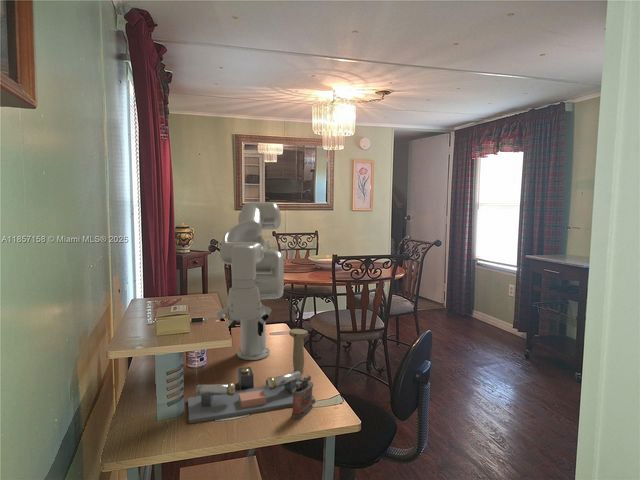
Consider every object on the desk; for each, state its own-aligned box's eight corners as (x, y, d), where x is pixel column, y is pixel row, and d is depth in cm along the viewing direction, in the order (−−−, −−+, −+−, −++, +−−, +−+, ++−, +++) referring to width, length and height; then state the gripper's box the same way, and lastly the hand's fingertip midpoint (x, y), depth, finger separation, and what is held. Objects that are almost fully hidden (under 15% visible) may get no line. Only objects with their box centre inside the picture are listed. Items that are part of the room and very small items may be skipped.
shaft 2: (271, 402, 123) (271, 381, 122) (265, 397, 126) (265, 376, 126) (302, 393, 129) (302, 372, 128) (295, 388, 132) (295, 368, 132)
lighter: (298, 420, 114) (299, 385, 112) (289, 416, 115) (289, 382, 114) (315, 407, 120) (316, 375, 119) (305, 404, 122) (306, 372, 121)
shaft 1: (235, 402, 123) (235, 380, 123) (233, 409, 119) (233, 386, 119) (198, 403, 123) (198, 381, 122) (195, 410, 119) (195, 387, 118)
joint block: (241, 391, 130) (240, 374, 130) (238, 382, 136) (237, 366, 136) (253, 389, 132) (253, 372, 131) (250, 381, 138) (250, 365, 137)
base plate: (188, 401, 124) (187, 391, 124) (302, 383, 136) (302, 375, 135) (189, 423, 112) (188, 413, 111) (315, 402, 123) (315, 392, 123)
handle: (303, 377, 140) (303, 334, 139) (287, 374, 143) (286, 332, 141) (309, 372, 145) (309, 330, 143) (293, 368, 147) (293, 328, 146)
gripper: (268, 280, 137) (269, 330, 138) (214, 283, 131) (216, 335, 133) (273, 284, 130) (273, 337, 131) (217, 287, 124) (218, 343, 126)
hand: (244, 336), depth 132 cm, fingers open, 9 cm apart
